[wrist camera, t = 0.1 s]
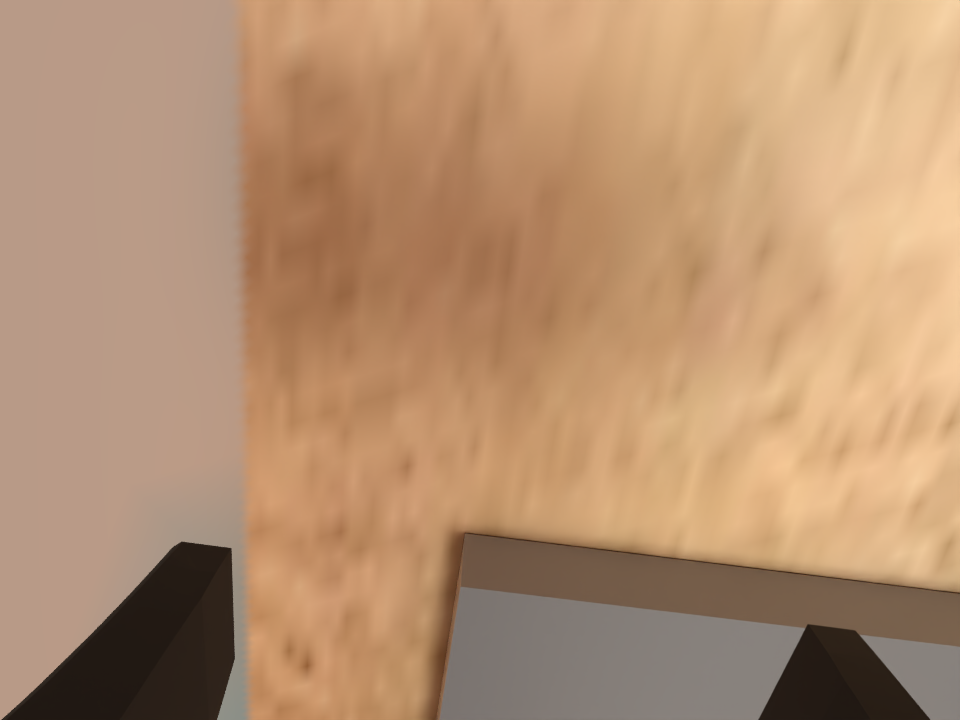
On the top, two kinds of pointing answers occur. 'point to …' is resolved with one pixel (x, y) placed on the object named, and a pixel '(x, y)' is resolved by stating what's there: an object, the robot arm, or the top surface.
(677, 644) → the fader console
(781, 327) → the top surface
